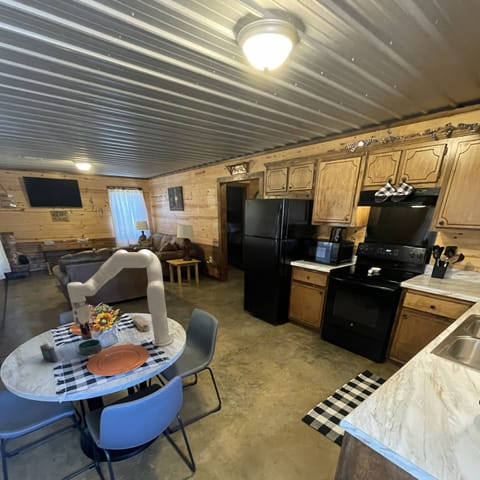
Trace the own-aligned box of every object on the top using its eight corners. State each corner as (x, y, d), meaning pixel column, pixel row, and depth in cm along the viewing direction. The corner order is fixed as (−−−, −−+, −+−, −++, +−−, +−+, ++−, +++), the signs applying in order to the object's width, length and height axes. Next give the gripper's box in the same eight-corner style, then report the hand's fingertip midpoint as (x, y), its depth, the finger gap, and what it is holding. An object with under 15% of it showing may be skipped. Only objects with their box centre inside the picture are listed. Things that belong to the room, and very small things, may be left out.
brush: (89, 335, 164) (85, 321, 160) (94, 337, 161) (91, 323, 157) (80, 338, 159) (76, 324, 156) (85, 341, 157) (81, 326, 153)
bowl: (94, 343, 171) (92, 337, 170) (106, 348, 165) (104, 342, 164) (75, 351, 162) (73, 345, 160) (87, 357, 156) (85, 350, 154)
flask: (59, 360, 153) (53, 343, 149) (54, 362, 150) (49, 346, 146) (46, 357, 155) (41, 341, 151) (42, 360, 153) (36, 344, 148)
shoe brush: (151, 329, 191) (150, 323, 189) (141, 332, 187) (140, 326, 185) (141, 319, 209) (140, 313, 207) (131, 321, 205) (130, 316, 203)
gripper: (77, 308, 144) (84, 338, 151) (93, 299, 159) (99, 327, 166) (63, 308, 144) (71, 338, 151) (80, 299, 159) (87, 326, 166)
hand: (85, 332), depth 159 cm, fingers closed on brush, 2 cm apart
